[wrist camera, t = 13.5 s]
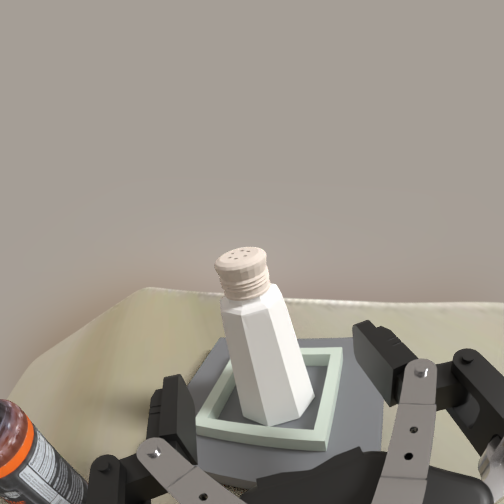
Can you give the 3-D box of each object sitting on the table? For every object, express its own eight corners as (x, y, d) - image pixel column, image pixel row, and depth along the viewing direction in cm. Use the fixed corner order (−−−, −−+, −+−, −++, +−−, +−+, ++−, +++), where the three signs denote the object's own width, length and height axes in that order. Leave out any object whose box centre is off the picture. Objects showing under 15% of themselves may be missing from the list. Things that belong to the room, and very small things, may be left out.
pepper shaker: (249, 373, 24) (210, 242, 20) (318, 371, 22) (295, 231, 18) (229, 425, 19) (171, 282, 15) (310, 428, 17) (280, 272, 13)
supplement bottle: (31, 528, 10) (-82, 422, 7) (49, 474, 16) (-38, 366, 12) (92, 546, 10) (-39, 437, 7) (106, 481, 16) (11, 363, 12)
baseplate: (151, 462, 18) (134, 441, 17) (224, 349, 30) (216, 327, 29) (373, 500, 12) (378, 482, 11) (383, 349, 24) (383, 324, 23)
